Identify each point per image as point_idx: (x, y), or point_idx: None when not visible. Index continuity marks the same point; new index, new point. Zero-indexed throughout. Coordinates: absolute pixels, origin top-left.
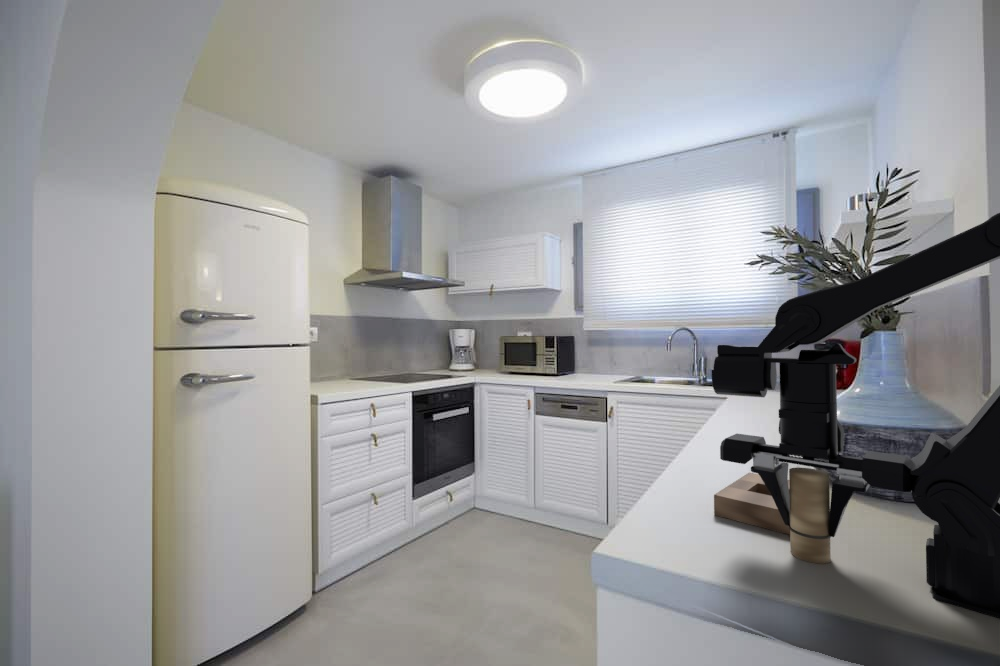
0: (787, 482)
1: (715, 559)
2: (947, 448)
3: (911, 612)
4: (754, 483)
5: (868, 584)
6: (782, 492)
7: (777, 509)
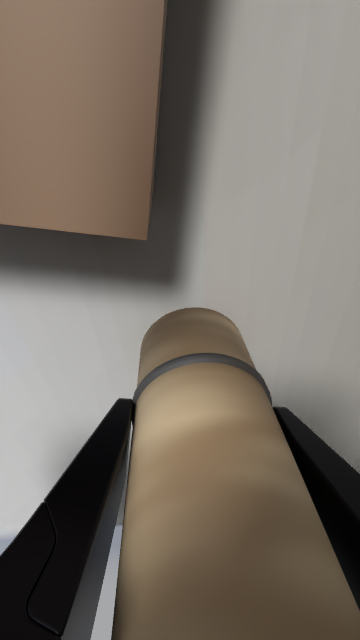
0: (67, 629)
1: (15, 475)
2: None
3: (347, 457)
4: None
5: (306, 407)
6: (89, 635)
7: (15, 225)
